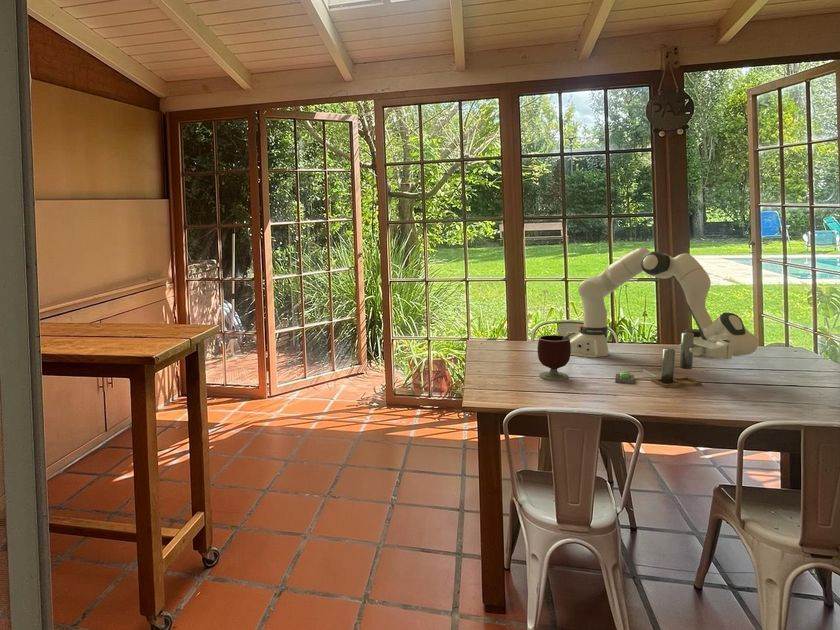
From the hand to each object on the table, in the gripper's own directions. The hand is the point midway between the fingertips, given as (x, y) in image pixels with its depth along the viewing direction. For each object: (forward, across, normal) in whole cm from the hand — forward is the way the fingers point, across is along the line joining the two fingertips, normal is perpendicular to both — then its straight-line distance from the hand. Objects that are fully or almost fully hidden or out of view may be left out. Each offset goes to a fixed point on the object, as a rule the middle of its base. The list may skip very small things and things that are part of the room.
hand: (684, 348), depth 210 cm
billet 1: (+7, 0, +14) cm, 16 cm away
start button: (+21, -7, +15) cm, 27 cm away
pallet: (+3, 0, +15) cm, 16 cm away
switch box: (+21, -8, +15) cm, 27 cm away
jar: (-35, -47, +15) cm, 61 cm away
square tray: (+11, -15, +15) cm, 24 cm away
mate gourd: (+44, -23, +15) cm, 52 cm away
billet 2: (-1, 0, +8) cm, 8 cm away
